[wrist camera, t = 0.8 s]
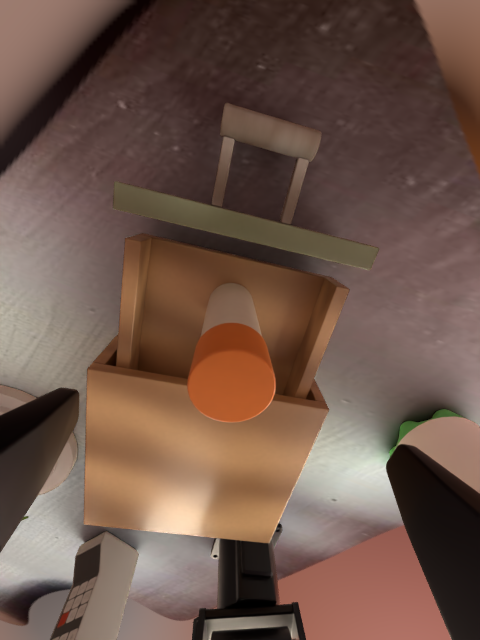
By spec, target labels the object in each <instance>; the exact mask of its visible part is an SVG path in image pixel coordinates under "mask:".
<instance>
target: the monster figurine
mask: <svg viewBox="0 0 480 640" xmlns="http://www.w3.org/2000/svg"><path fill="white" fill-rule="evenodd" d="M34 399H36V397H34V396H32V395H30V394H28V393H26V392H23V391H20V390H17V389H14V388H11V387H7V386H3V385H0V415H2V414H4V413H6V412H8V411H10V410H13V409H15V408H17V407H19V406H21V405H23V404H26V403H28V402H30V401H32V400H34ZM77 454H78V448H77V442H76V439H75V435H74V434H73V432H72V433H71V435H70V437H69V439H68V441H67V443H66V445H65V447H64V449H63V451H62V452H61V454H60V456H59V458H58V460H57V462H56V464H55V466H54V468H53V470H52V471H51V473H50V475H49V477H48V479H47V481H46V482H45V484H44V486H43V488H42V489H41V491H40V492H39V494H38V495H41V494H45V493H47V492H49V491H52V490H53V489H55V488H56V487H58V486H59V485H61V484H62V483H63V482H64V481H65V480H66V478H67V477H68V475H69V474H70V472H71V470H72V469H73V467H74V465H75V462H76V460H77ZM28 517H29V516H26V517H23V519H22V520H24V519H26V518H28ZM22 520H21V521H22Z"/></svg>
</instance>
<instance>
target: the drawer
mask: <svg viewBox="0 0 480 640" xmlns="http://www.w3.org/2000/svg"><path fill="white" fill-rule="evenodd" d="M220 136H221V137H223V141H222V146H221V152H220V158H219V163H218V169H217V174H216V180H215V186H214V191H213V197H212V202H211V205H209V204H205V203H201V202H198V201H194V200H190V199H186V198H182V197H178V196H174V195H170V194H166V193H162V192H158V191H154V190H150V189H146V188H142V187H138V186H134V185H130V184H125V183H121V182H117V181H115V182H114V195H113V209H116V210H120V211H124V212H128V213H132V214H136V215H141V216H145V217H149V218H153V219H157V220H161V221H166V222H170V223H174V224H178V225H182V226H186V227H191V228H195V229H199V230H203V231H207V232H211V233H215V234H220V235H224V236H228V237H232V238H236V239H240V240H245V241H249V242H253V243H257V244H261V245H265V246H270V247H274V248H278V249H282V250H286V251H290V252H295V253H299V254H303V255H307V256H311V257H315V258H320V259H324V260H328V261H332V262H336V263H340V264H345V265H349V266H353V267H357V268H361V269H365V270H371V268H372V265H373V263H374V260H375V258H376V256H377V253H378V251H379V248H378V247H374V246H371V245H367V244H363V243H359V242H356V241H352V240H348V239H344V238H340V237H336V236H332V235H328V234H324V233H320V232H316V231H312V230H308V229H304V228H300V227H296V226H293V225H291V222H292V218H293V215H294V211H295V208H296V205H297V201H298V198H299V194H300V191H301V187H302V184H303V180H304V177H305V173H306V170H307V166H308V163H309V162H310V161H312V160H313V159H314V157H315V155H316V153H317V150H318V148H319V144H320V141H321V132H320V131H319V130H316V129H312V128H309V127H306V126H302V125H299V124H296V123H292V122H289V121H286V120H282V119H279V118H276V117H272V116H269V115H266V114H262V113H259V112H256V111H252V110H249V109H246V108H242V107H239V106H236V105H233V104H229V103H225V105H224V109H223V114H222V120H221V127H220ZM235 141H239V142H242V143H246V144H249V145H253V146H256V147H260V148H263V149H267V150H270V151H274V152H277V153H281V154H284V155H288V156H291V157H295V158H297V159H296V162H295V165H294V169H293V173H292V176H291V180H290V184H289V187H288V191H287V195H286V198H285V202H284V206H283V209H282V213H281V217H280V220H279V222H277V221H273V220H269V219H265V218H261V217H257V216H253V215H249V214H245V213H241V212H237V211H233V210H229V209H225V208H221V207H222V205H223V200H224V195H225V189H226V184H227V179H228V174H229V169H230V164H231V158H232V153H233V148H234V143H235ZM226 283H235V284H239V285H241V286H243V287H245V288H246V289H247V290H248V291H249V293H250V294H251V296H252V299H253V303H254V307H255V311H256V315H257V319H258V323H259V327H260V331H261V335H262V338H263V339H264V341H265V343H266V345H267V348H268V352H269V356H270V359H271V363H272V367H273V371H274V374H275V379H276V390H275V394H279V395H284V396H290V397H296V398H302V399H306V397H307V395H308V392H309V390H310V387H311V385H312V382H313V380H314V377H315V375H316V372H317V370H318V367H319V365H320V362H321V360H322V357H323V355H324V352H325V350H326V347H327V345H328V342H329V340H330V337H331V335H332V332H333V330H334V327H335V325H336V322H337V320H338V317H339V315H340V312H341V310H342V307H343V305H344V302H345V300H346V298H347V295H348V293H349V289H348V288H347V287H346V286H344V285H343V284H341V283H340V282H338V281H337V280H335V279H334V278H332V277H329V276H325V275H321V274H316V273H312V272H308V271H303V270H299V269H295V268H290V267H286V266H282V265H278V264H273V263H269V262H265V261H260V260H256V259H252V258H247V257H243V256H239V255H235V254H230V253H226V252H222V251H217V250H213V249H209V248H204V247H200V246H196V245H192V244H187V243H183V242H179V241H174V240H170V239H166V238H162V237H157V236H153V235H149V234H144V233H141V234H137V235H134V236H131V237H127V238H125V247H124V261H123V276H122V290H121V304H120V318H119V333H118V347H117V361H116V367H122V368H127V369H133V370H139V371H145V372H151V373H156V374H162V375H168V376H174V377H180V378H185V379H188V376H189V372H190V368H191V364H192V360H193V356H194V352H195V348H196V345H197V342H198V341H199V339H200V337H201V332H202V328H203V324H204V319H205V315H206V310H207V306H208V301H209V298H210V295H211V294H212V292H213V291H214V290H215V289H216V288H217V287H219V286H220V285H223V284H226Z"/></svg>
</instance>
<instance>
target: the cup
mask: <svg viewBox="0 0 480 640" xmlns="http://www.w3.org/2000/svg"><path fill="white" fill-rule="evenodd" d="M399 444H407V445H412V446H415V447H417V448H418V449H420V450H421V451H422V452H424V453H425V454H427V455H428V456H429V457H431V458H432V459H433V460H435V461H436V462H437V463H439V464H440V465H442V466H443V467H444V468H446V469H447V470H448V471H450V472H451V473H452V474H454V475H455V476H457V477H458V478H459V479H461V480H462V481H463V482H465V483H466V484H467V485H469V486H470V487H472V488H473V489H474V490H476V491H477V492H478V493H480V427H479V426H478V425H477V424H476V423H475V422H473V421H471V420H468V419H466V418H464V417H462V416H460V415H458V414H456V413H453V412H451V411H449V410H447V409H441V410H439V411H437V412H436V413H435V414H434V415H433V417H432V419H429V420H426V421H422V422H418V423H417V422H414V421H407V422H404V423H403V424H402V425H400V430H399V439H398V442H397V445H396V446H395V447H393V448H392V449H391V450H390V452H389V454H390V457H391V455H392V453H393V452H394V450H395V449H396V447H397V446H398V445H399Z"/></svg>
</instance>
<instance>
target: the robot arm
mask: <svg viewBox="0 0 480 640" xmlns="http://www.w3.org/2000/svg"><path fill="white" fill-rule="evenodd" d="M78 417H79V392H78V391H77V390H75V389H69V388H58V389H56V390H54V391H52V392H49V393H47V394H45V395H43V396H41V397H39V398H36V399H34V400H32V401H30V402H28V403H26V404H23V405H21V406H19V407H17V408H15V409H13V410H10V411H8V412H6V413H4V414H2V415H0V552H1V551H2V549H3V548H4V546H5V545H6V543H7V542H8V540H9V539H10V537H11V535H12V534H13V532H14V531H15V529H16V528H17V526H18V525H19V523H20V522H21V520H22V519H23V517H24V516H25V514H26V513H27V511H28V509H29V508H30V506H31V505H32V503H33V502H34V500H35V499H36V497H37V496H38V494H39V492H40V491H41V489H42V488H43V486H44V484H45V482H46V481H47V479H48V477H49V475H50V473H51V471H52V470H53V468H54V466H55V464H56V462H57V460H58V458H59V456H60V454H61V452H62V451H63V449H64V447H65V445H66V443H67V441H68V439H69V437H70V435H71V433H72V431H73V430H74V428H75V426H76V424H77V421H78ZM386 471H387V474H388V477H389V480H390V483H391V486H392V489H393V492H394V495H395V498H396V501H397V505H398V508H399V511H400V514H401V517H402V520H403V523H404V525H405V528H406V531H407V533H408V536H409V538H410V541H411V543H412V546H413V548H414V551H415V553H416V555H417V558H418V560H419V563H420V565H421V567H422V570H423V572H424V575H425V577H426V579H427V582H428V584H429V587H430V589H431V591H432V594H433V596H434V599H435V601H436V603H437V606H438V608H439V610H440V613H441V615H442V618H443V620H444V622H445V625H446V627H447V629H448V632H449V634H450V637H451V639H452V640H480V493H478V492H477V491H476V490H474V489H473V488H472V487H470V486H469V485H467V484H466V483H465V482H463V481H462V480H461V479H459V478H458V477H457V476H455V475H454V474H452V473H451V472H450V471H448V470H447V469H446V468H444V467H443V466H442V465H440V464H439V463H437V462H436V461H435V460H433V459H432V458H431V457H429V456H428V455H427V454H425V453H424V452H422V451H421V450H420V449H418V448H417V447H415V446H412V445H407V444H399V445H398V446H397V447H396V449H395V450H394V452H393V453H392V455H391V457H390V458H389V460H388V462H387V465H386ZM281 533H282V525H281V524H279V523H278V525H277V527H276V529H275V531H274V534H273V536H272V538H271V540H270V543H261V542H251V541H241V540H232V539H222V538H215V541H214V544H213V547H212V550H211V557H212V558H214V559H219V563H218V595H217V609H206V608H200V610H199V617H197V618H195V619H194V622H193V634H192V640H306V638H305V633H304V628H303V623H302V619H301V614H300V610H299V605H298V602H293V603H292V604H284V605H281V604H280V597H279V589H278V581H277V573H276V565H275V557H274V547H275V545H276V543H277V541H278V539H279V537H280V535H281Z"/></svg>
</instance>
